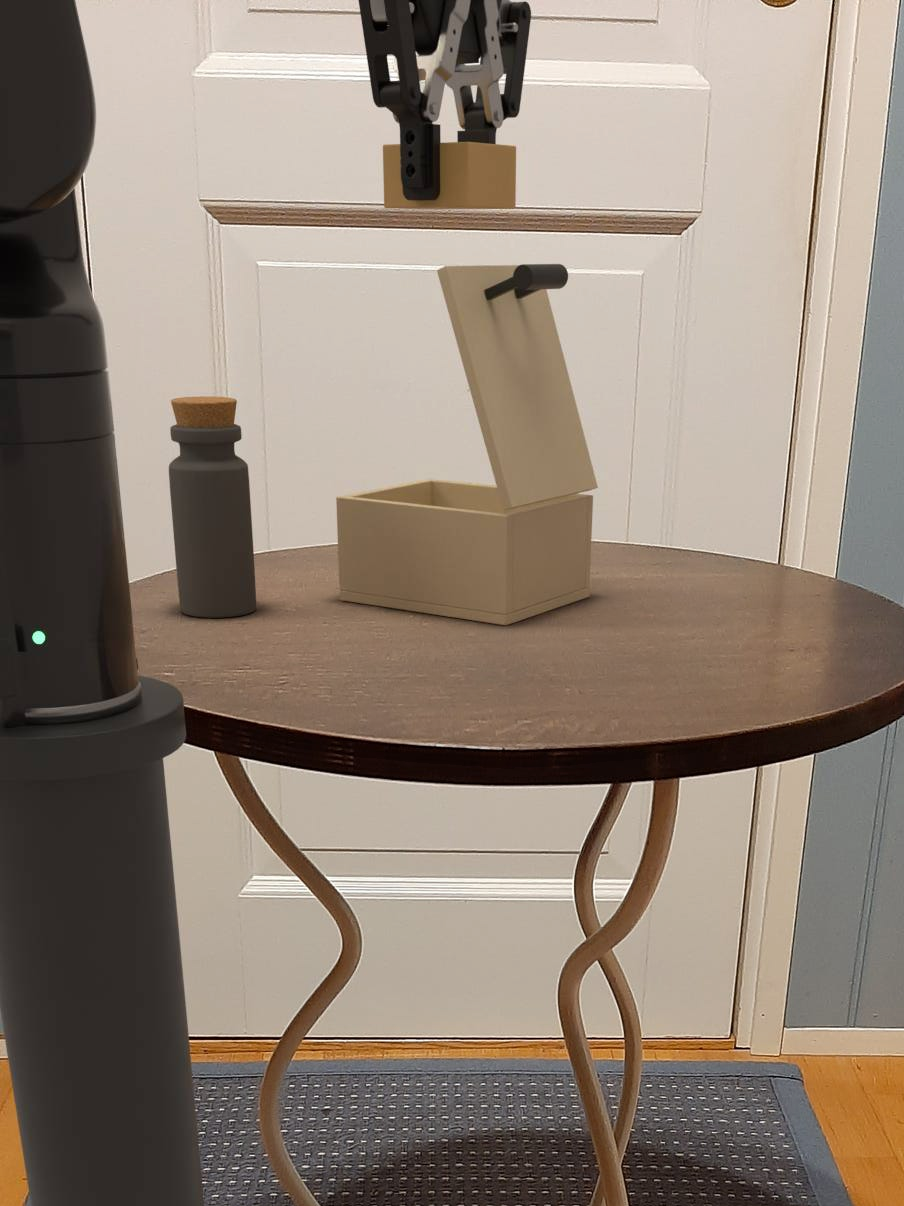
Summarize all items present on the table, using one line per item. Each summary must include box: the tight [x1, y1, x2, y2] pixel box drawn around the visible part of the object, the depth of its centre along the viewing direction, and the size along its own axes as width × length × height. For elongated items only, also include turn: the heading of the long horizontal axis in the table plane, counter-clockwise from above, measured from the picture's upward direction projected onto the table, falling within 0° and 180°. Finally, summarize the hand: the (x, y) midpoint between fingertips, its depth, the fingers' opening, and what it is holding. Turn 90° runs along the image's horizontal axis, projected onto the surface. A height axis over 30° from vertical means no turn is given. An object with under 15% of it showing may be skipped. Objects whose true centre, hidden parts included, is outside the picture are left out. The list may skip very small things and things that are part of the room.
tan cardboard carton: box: [382, 141, 517, 210], centre depth 88 cm, size 6×5×3 cm
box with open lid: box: [335, 478, 594, 627], centre depth 119 cm, size 16×13×8 cm
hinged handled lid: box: [436, 263, 598, 511], centre depth 110 cm, size 16×13×5 cm
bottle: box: [168, 396, 257, 619], centre depth 113 cm, size 6×6×15 cm
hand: (449, 199), depth 89 cm, fingers closed on tan cardboard carton, 5 cm apart
